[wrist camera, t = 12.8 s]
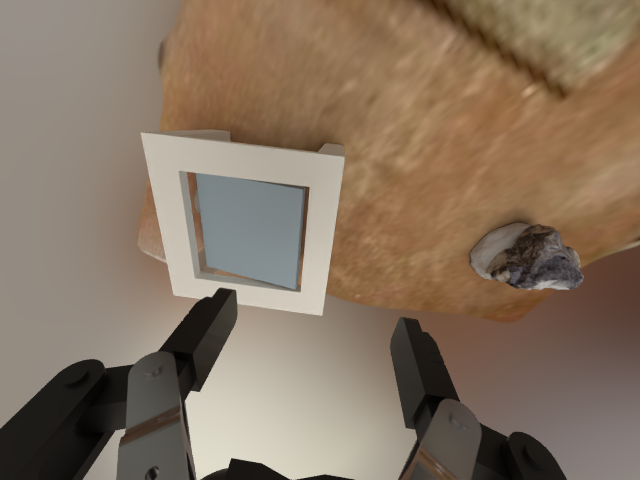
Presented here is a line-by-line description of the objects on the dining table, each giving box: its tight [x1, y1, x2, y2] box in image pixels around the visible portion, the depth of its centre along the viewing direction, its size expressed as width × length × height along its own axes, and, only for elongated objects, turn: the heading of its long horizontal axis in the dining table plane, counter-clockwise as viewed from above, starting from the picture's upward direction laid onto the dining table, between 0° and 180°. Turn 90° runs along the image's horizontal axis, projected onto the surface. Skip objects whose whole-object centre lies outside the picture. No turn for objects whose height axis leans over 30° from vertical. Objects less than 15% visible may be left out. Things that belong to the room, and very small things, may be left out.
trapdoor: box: [196, 173, 305, 289], centre depth 32 cm, size 14×14×1 cm
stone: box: [469, 222, 584, 290], centre depth 41 cm, size 14×10×15 cm
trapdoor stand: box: [141, 129, 345, 315], centre depth 37 cm, size 22×22×16 cm
